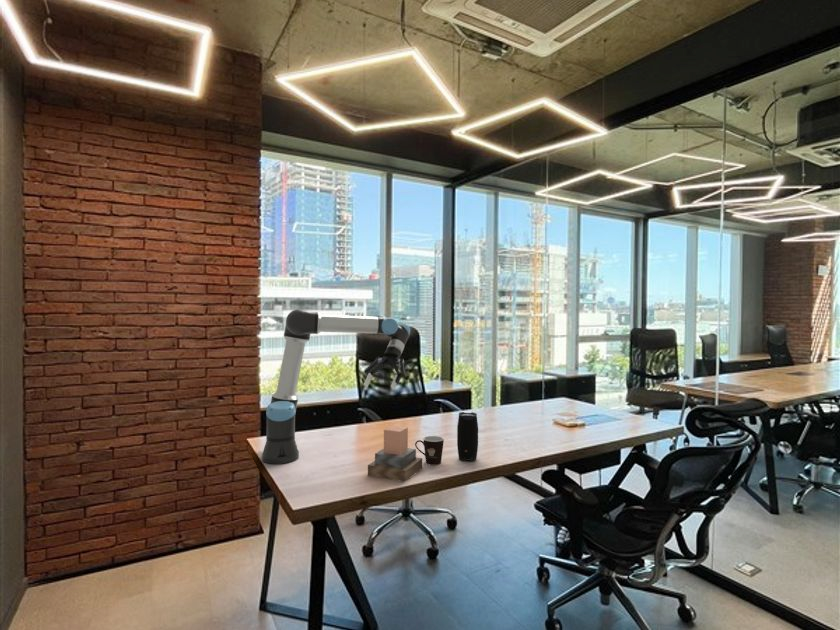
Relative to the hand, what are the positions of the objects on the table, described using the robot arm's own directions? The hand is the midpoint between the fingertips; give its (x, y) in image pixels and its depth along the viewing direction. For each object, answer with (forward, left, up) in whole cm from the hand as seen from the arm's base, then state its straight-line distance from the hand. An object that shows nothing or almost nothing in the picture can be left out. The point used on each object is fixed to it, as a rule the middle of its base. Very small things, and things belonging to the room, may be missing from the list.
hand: (378, 387), depth 200 cm
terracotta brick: (+17, -17, -22) cm, 32 cm away
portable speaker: (+38, +10, -30) cm, 49 cm away
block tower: (+17, -17, -30) cm, 38 cm away
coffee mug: (+25, 0, -30) cm, 39 cm away
